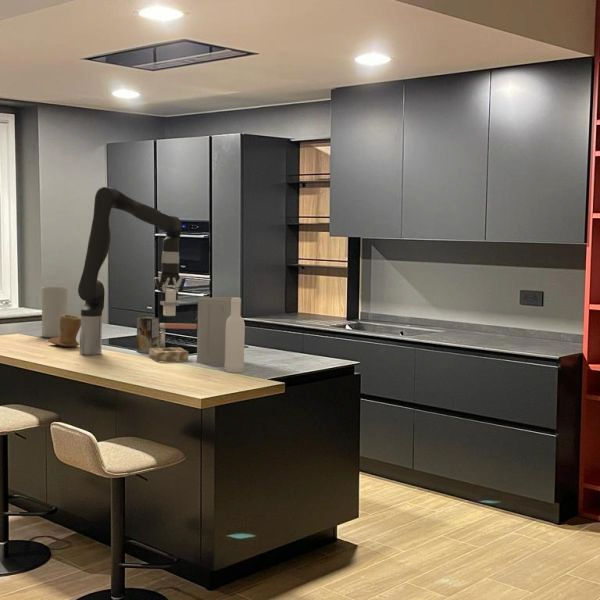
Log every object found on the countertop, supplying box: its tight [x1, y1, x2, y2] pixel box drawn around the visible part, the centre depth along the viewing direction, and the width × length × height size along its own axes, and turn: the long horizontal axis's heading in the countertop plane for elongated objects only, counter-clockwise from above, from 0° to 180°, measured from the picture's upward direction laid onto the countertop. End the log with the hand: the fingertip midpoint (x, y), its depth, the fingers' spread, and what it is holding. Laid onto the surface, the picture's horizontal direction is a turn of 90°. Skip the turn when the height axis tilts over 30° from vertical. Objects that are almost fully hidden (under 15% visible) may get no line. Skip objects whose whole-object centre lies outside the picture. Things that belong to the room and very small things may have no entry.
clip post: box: [160, 328, 166, 348], centre depth 386 cm, size 5×5×12 cm
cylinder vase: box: [41, 286, 68, 339], centre depth 439 cm, size 12×12×25 cm
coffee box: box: [136, 316, 161, 354], centre depth 395 cm, size 9×6×16 cm
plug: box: [159, 289, 180, 317], centre depth 375 cm, size 7×7×11 cm
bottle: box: [224, 297, 246, 374], centre depth 349 cm, size 8×8×30 cm
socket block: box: [148, 347, 189, 363], centre depth 376 cm, size 14×14×4 cm
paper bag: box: [196, 296, 242, 367], centre depth 368 cm, size 19×15×28 cm
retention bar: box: [160, 322, 198, 330], centre depth 386 cm, size 3×16×2 cm, turn 93°
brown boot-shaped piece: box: [47, 314, 81, 348], centre depth 406 cm, size 15×12×15 cm
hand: (169, 300), depth 375 cm, fingers closed on plug, 4 cm apart
